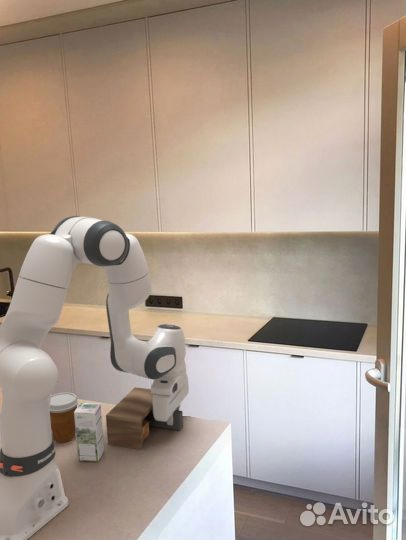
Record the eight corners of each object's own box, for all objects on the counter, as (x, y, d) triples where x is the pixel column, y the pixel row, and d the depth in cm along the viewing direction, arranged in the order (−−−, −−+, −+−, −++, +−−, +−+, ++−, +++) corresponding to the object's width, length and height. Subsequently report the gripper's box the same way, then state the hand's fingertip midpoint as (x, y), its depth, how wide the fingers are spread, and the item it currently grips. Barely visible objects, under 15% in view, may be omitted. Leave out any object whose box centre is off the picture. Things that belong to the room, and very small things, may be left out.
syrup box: (104, 450, 136) (101, 401, 133) (98, 462, 130) (94, 412, 127) (85, 449, 136) (81, 401, 134) (77, 462, 131) (73, 411, 128)
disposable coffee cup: (40, 442, 141) (37, 404, 139) (60, 426, 150) (57, 390, 147) (69, 447, 138) (65, 408, 135) (87, 431, 147) (84, 393, 144)
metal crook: (174, 438, 141) (173, 422, 140) (125, 431, 145) (124, 416, 144) (183, 426, 147) (182, 410, 147) (136, 420, 152) (135, 405, 151)
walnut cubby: (141, 449, 136) (139, 419, 134) (107, 444, 139) (105, 415, 137) (166, 417, 153) (165, 390, 152) (136, 413, 157) (134, 387, 155)
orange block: (143, 440, 140) (142, 428, 140) (130, 438, 142) (130, 426, 141) (149, 434, 144) (148, 421, 143) (136, 432, 145) (136, 419, 145)
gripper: (174, 363, 155) (175, 404, 157) (147, 390, 136) (150, 436, 138) (192, 365, 153) (194, 406, 155) (169, 392, 134) (170, 439, 136)
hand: (173, 420), depth 147 cm, fingers closed on metal crook, 3 cm apart
